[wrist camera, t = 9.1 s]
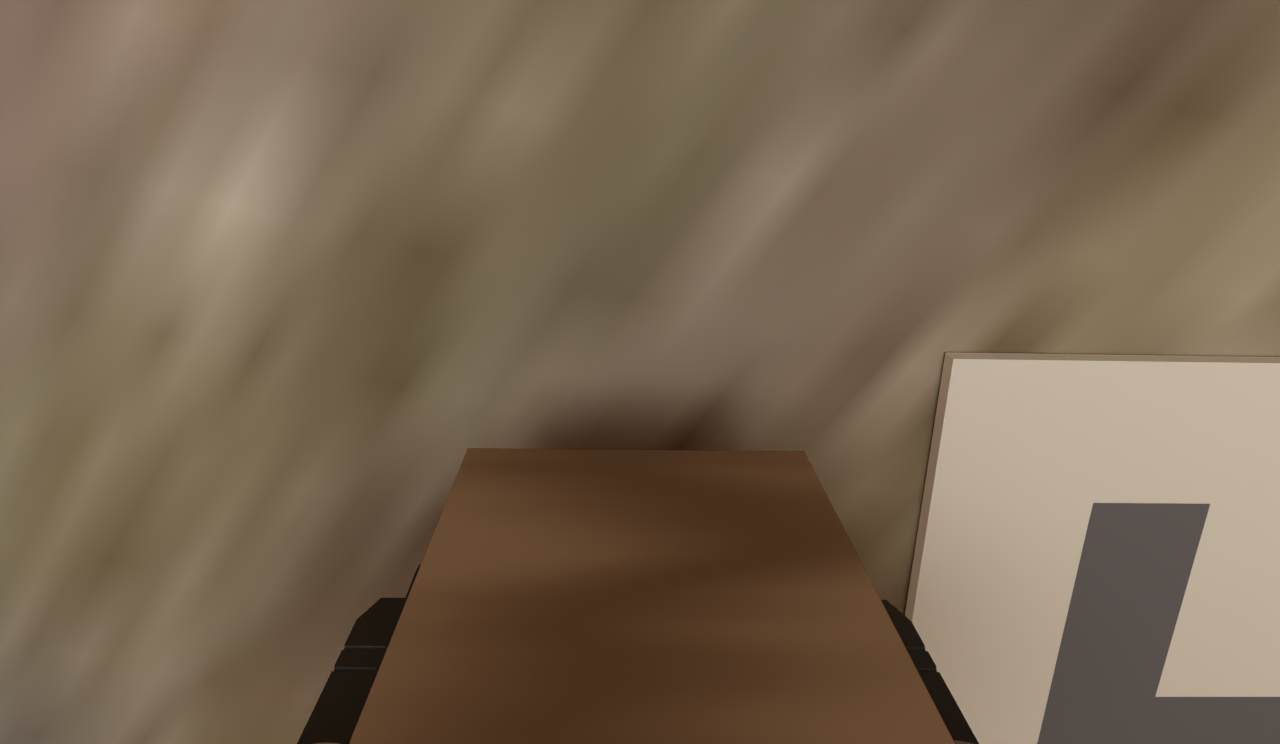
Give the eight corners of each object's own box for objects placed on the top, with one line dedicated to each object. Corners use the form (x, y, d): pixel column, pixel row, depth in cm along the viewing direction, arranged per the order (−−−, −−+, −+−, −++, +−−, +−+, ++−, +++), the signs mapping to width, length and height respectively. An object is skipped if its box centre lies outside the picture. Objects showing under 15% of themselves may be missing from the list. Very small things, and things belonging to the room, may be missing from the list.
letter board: (1836, 364, 16) (1865, 370, 16) (1500, 990, 22) (1516, 1006, 22) (945, 352, 16) (953, 359, 15) (845, 999, 22) (849, 1015, 21)
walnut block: (803, 451, 12) (967, 766, 7) (777, 718, 14) (888, 1155, 8) (467, 447, 12) (339, 769, 6) (481, 719, 14) (388, 1165, 8)
